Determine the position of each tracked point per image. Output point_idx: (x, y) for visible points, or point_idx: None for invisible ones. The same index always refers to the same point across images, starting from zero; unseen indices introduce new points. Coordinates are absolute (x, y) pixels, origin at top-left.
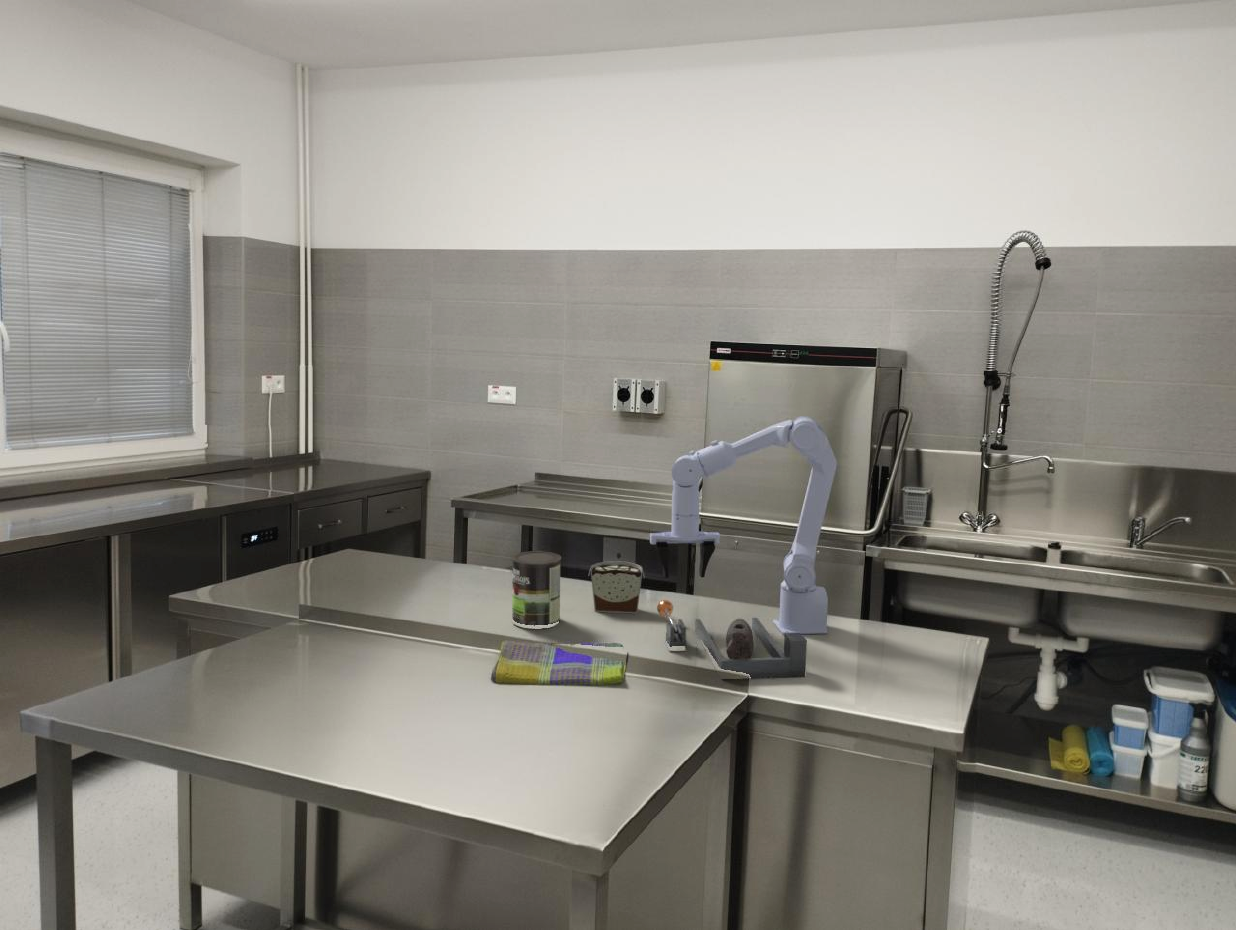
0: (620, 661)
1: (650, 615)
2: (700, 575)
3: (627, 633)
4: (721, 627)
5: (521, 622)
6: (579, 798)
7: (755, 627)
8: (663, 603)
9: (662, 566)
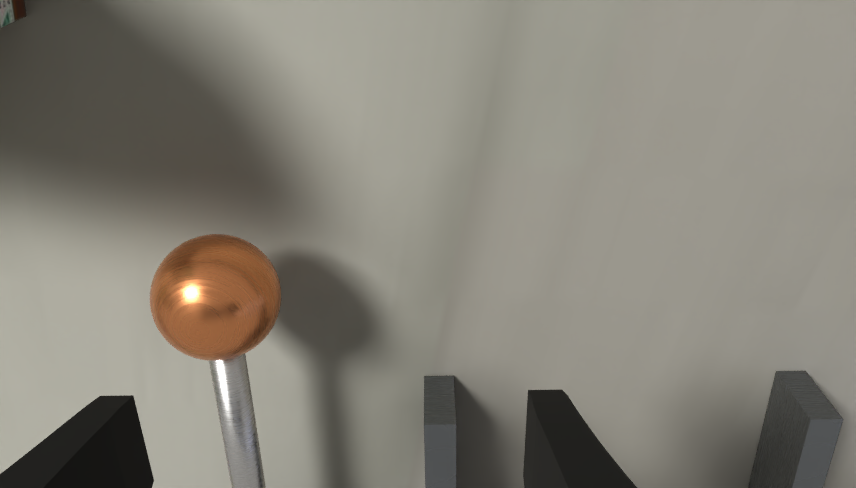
0: None
1: (137, 73)
2: (526, 447)
3: (18, 393)
4: (602, 329)
5: None
6: None
7: (777, 465)
8: (188, 354)
9: (24, 459)
